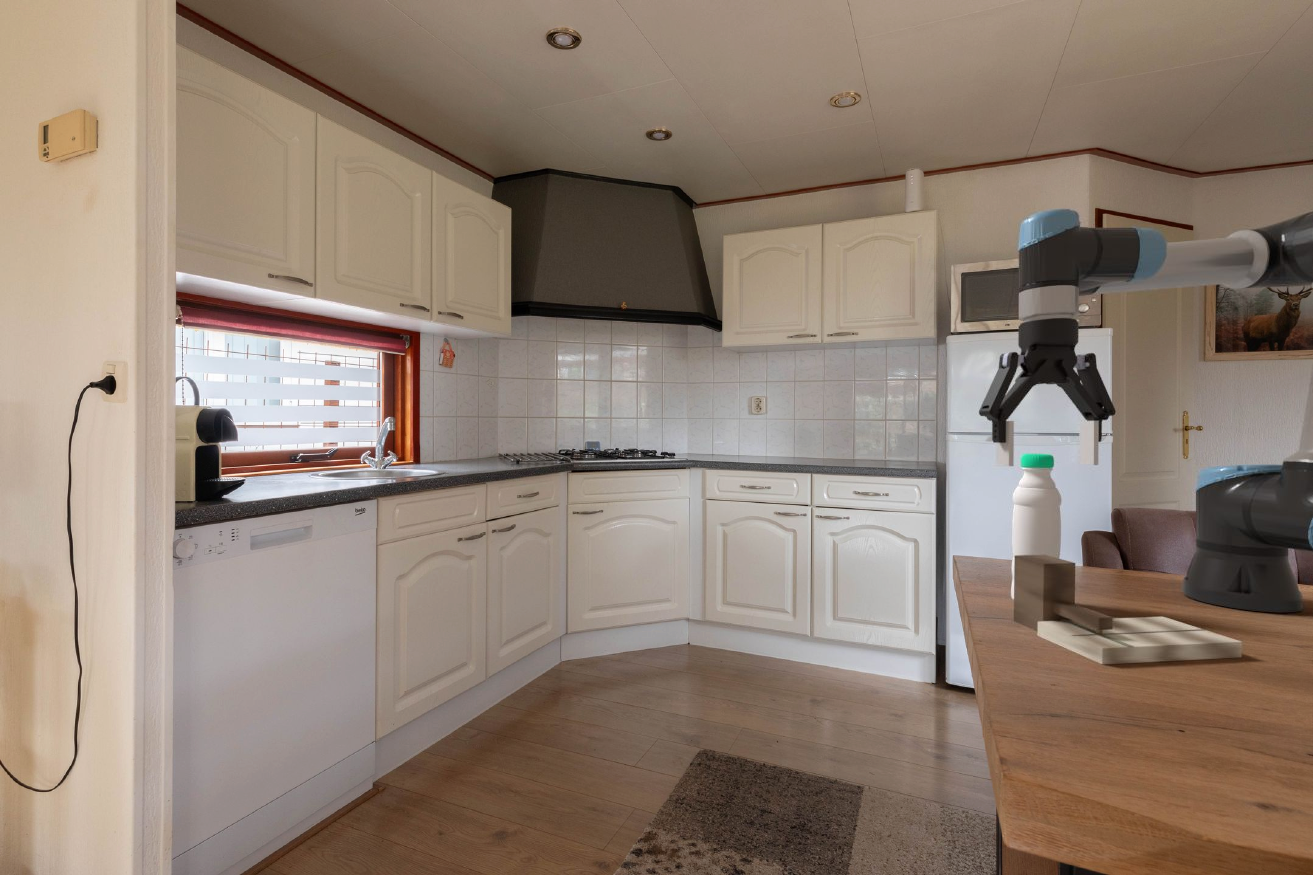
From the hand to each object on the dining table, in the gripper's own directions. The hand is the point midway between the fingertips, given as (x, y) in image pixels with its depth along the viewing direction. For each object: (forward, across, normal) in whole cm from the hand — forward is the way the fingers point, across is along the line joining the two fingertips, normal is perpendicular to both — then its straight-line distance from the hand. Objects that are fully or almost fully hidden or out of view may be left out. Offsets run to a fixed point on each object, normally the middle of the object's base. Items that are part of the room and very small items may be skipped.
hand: (1047, 465), depth 94 cm
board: (+24, -6, +9) cm, 26 cm away
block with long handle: (+24, 0, +4) cm, 24 cm away
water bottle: (+24, -8, -12) cm, 28 cm away
